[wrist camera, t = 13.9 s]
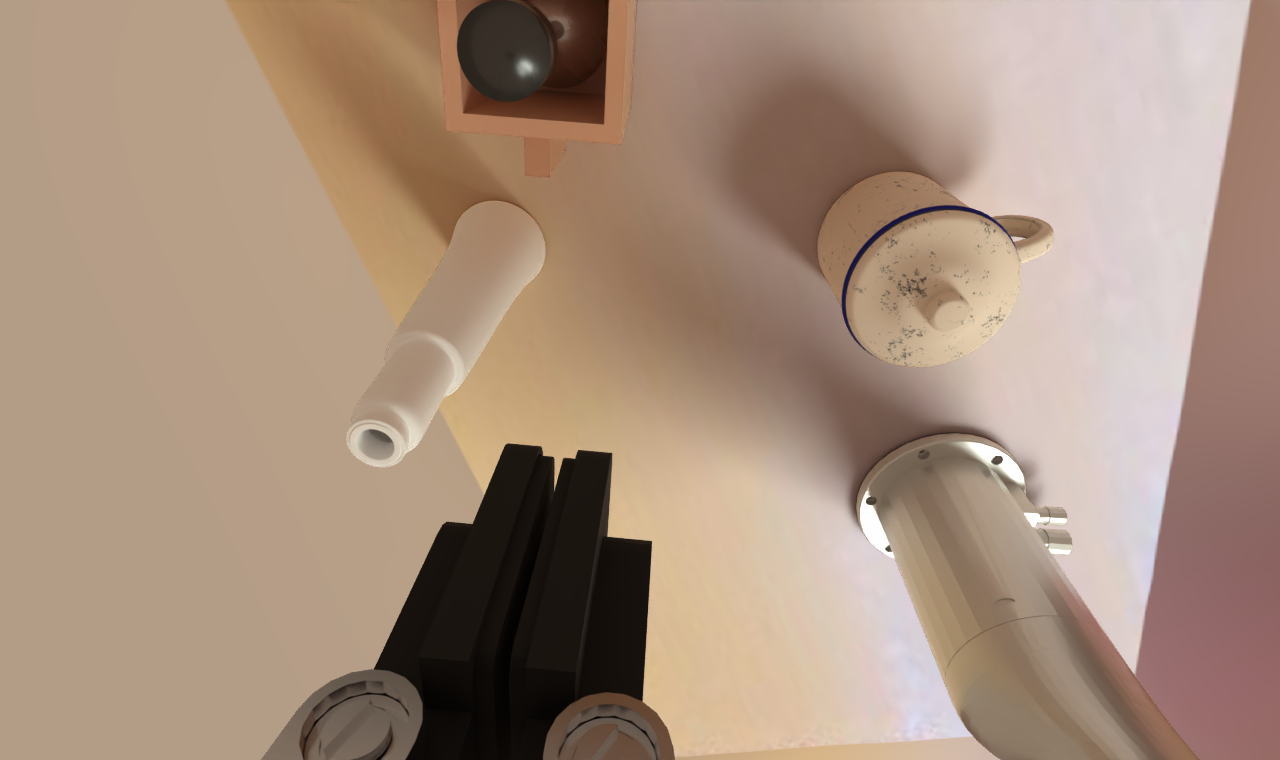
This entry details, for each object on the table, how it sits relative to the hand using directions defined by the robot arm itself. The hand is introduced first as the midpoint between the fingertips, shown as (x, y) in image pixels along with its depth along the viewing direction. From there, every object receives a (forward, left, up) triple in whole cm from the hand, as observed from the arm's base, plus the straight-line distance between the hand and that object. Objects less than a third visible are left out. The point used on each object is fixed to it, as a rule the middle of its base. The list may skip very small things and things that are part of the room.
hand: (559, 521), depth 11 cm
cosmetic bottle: (+8, +8, -34) cm, 36 cm away
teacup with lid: (-18, +5, -34) cm, 39 cm away
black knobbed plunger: (+4, -5, -32) cm, 32 cm away
